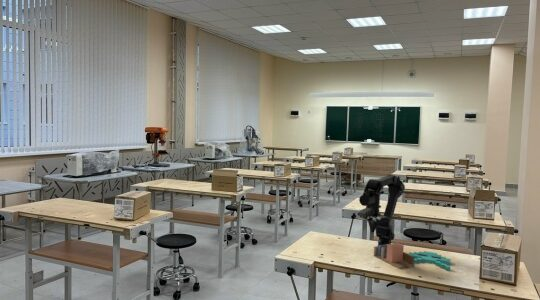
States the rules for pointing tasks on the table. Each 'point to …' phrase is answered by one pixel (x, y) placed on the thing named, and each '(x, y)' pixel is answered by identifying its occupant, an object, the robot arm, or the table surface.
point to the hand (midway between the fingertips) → (372, 232)
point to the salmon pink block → (395, 252)
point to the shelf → (407, 262)
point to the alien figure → (431, 259)
